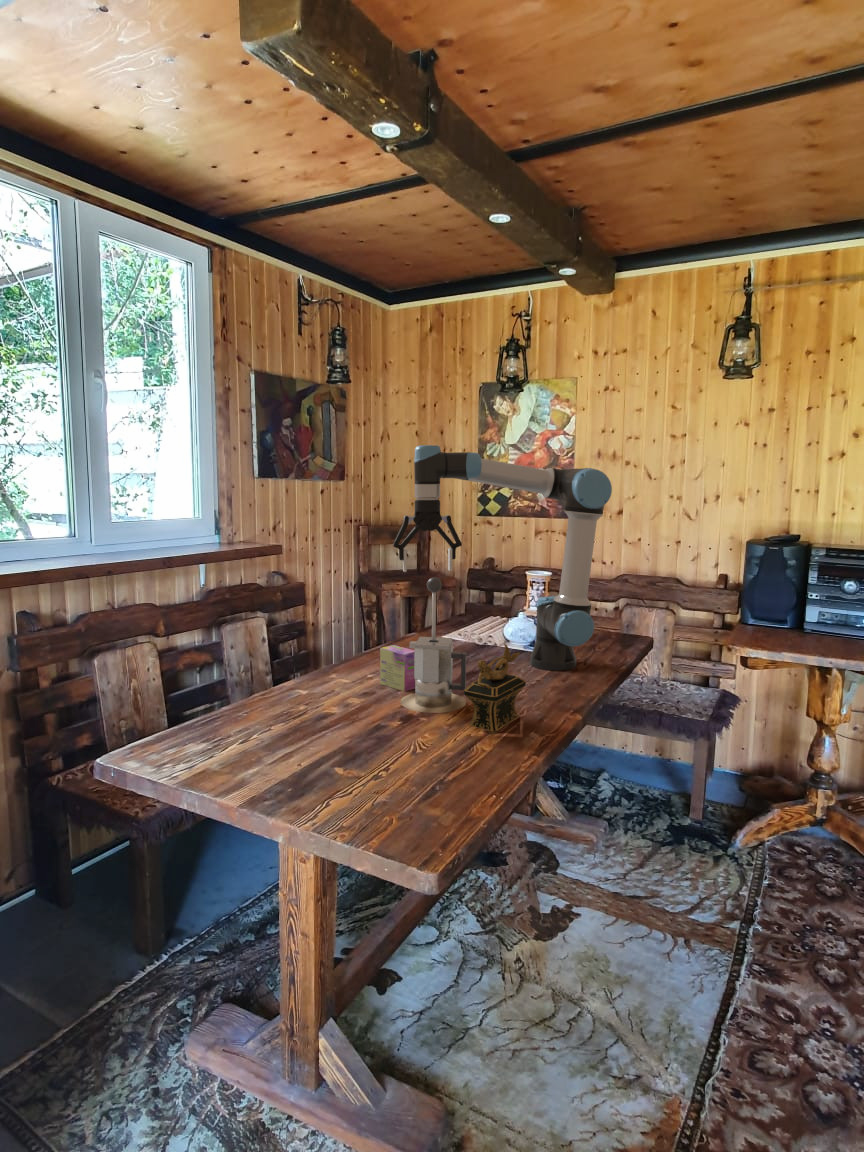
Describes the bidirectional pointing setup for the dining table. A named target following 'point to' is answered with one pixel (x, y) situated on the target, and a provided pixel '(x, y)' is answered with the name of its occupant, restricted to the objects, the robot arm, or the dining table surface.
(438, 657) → the carafe
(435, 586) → the plunger
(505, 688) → the decorative box
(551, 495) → the robot arm
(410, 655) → the box
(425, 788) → the dining table surface
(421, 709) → the beige plate
